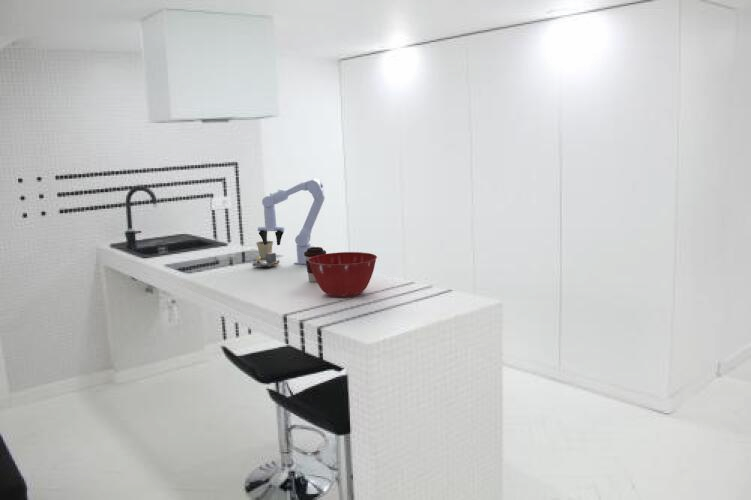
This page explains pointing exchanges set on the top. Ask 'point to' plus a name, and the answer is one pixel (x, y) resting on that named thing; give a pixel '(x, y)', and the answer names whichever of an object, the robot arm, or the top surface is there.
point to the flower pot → (264, 248)
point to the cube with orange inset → (271, 257)
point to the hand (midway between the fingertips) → (272, 244)
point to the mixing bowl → (343, 272)
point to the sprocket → (264, 263)
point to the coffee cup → (310, 253)
